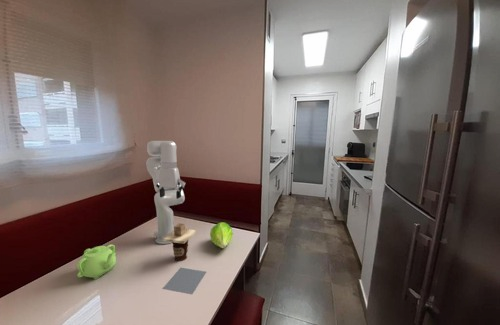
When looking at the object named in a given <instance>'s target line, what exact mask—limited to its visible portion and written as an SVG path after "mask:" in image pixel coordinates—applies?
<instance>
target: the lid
mask: <svg viewBox="0 0 500 325" xmlns="http://www.w3.org/2000/svg"><path fill="white" fill-rule="evenodd" d="M196 231H197V230H196V229H189V228H188V229H186V223H181V222H180V223H179V222H178V223H177V224H174V230H173V231H172V232H170V233H169V234H168V235H167V236H165V237H164V238H163V241H168V242H175V243H183V244H185V243H186V242H187V241H188V242H189V240H190V239H191V238H192V237H193V236H194V235H195V234H196V233H197V232H196Z"/></svg>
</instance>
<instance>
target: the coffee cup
mask: <svg viewBox="0 0 500 325" xmlns="http://www.w3.org/2000/svg"><path fill="white" fill-rule="evenodd" d="M172 250H173V255H174V261H176V262H183V261H185V260H187V259H188V256H187V253H188V250H189V240H188V241H187V242H186V243H185V244H183V243H175V242H172Z"/></svg>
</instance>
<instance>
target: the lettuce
mask: <svg viewBox="0 0 500 325" xmlns="http://www.w3.org/2000/svg"><path fill="white" fill-rule="evenodd" d="M232 228H233V227H232V226H230V225H229V224H228V223H226V222H222V221H221V222H218V223H216V225H214V226H213V227H212V228H211V229H210V233H209V236H210V237H209V238H210V241H211V242H212V243H213V244H214V245H215V246H216V247H219V248H221V249H225V248H226V247H227V245H229V244H230V242H231V241H232V240H233V236H234V233H233V230H232Z"/></svg>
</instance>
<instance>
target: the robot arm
mask: <svg viewBox="0 0 500 325" xmlns="http://www.w3.org/2000/svg"><path fill="white" fill-rule="evenodd" d="M146 145H147V146H146V151H147V154H148V156H150V157H148V158H147V159H146V162H145V164H146V170H147V172H148V174H149V175H150V177H151V178H152V182H153V187H154V190H155V192H156V193H155V195H154V197H153V198H154V199H153V200H154V205H155V210H156V221H157V222H156V226H157V231H156V230H155V231H154V232H153V236H154V237H156V238H155V243H156V244H157V245H168V244H171V243H172V242H168V241H163V238H164V237H165V236H167V235H168V234H169V233H170V232H172V231H173V230H174V226H175V224H174V223H175V221H174V211H173V209H172V208H170V207H171V206H177V205H180V204H183V203H184V202H185V199H186V197H185V193H184V190H183V189H185V185H186V182H185V181H183V180H182V179H181V177H180V176H181V175H180V170H179V167H178V165H177V164H178V161H177V158H178V157H177V148H178V147H177V144H176V142H174V141H173V140H151V141H148V142H147V144H146ZM172 244H173V243H172Z"/></svg>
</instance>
